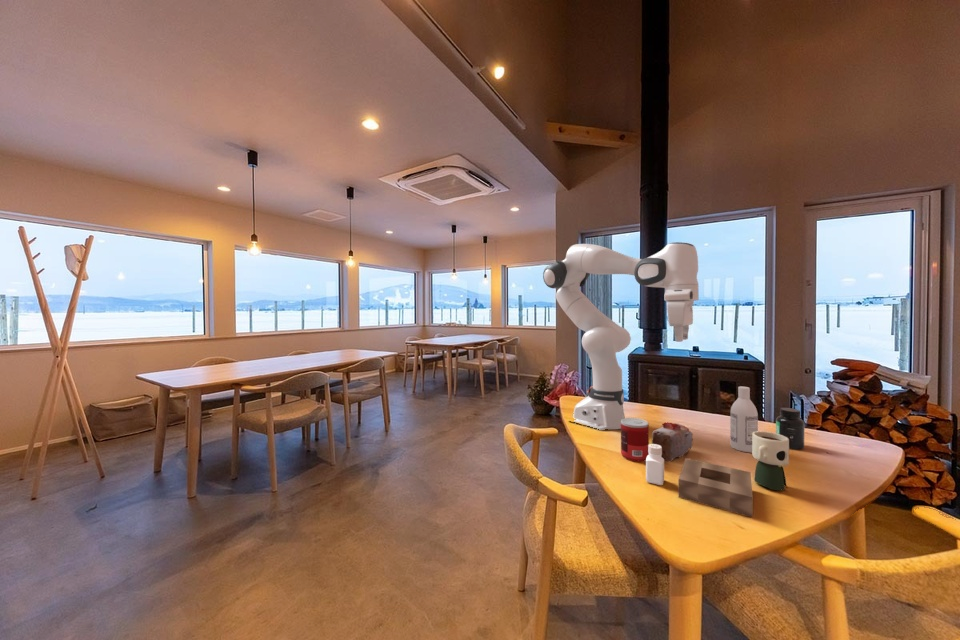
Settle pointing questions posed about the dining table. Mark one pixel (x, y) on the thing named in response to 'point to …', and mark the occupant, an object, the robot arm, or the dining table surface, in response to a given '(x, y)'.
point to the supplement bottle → (791, 427)
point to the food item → (672, 440)
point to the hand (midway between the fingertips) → (681, 340)
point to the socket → (717, 486)
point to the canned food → (634, 439)
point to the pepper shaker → (655, 465)
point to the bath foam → (743, 421)
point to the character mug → (770, 459)
